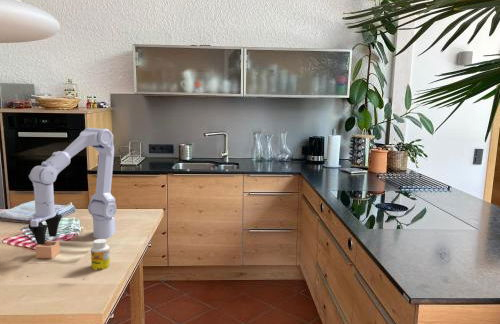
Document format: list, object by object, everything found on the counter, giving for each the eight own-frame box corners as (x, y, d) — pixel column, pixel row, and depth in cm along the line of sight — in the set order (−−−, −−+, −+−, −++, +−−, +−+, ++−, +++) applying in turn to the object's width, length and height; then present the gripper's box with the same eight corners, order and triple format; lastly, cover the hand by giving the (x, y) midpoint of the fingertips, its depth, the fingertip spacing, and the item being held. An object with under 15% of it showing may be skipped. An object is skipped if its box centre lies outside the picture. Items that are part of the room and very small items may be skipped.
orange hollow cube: (44, 251, 136) (43, 239, 135) (59, 252, 136) (59, 239, 135) (35, 257, 131) (35, 244, 130) (51, 258, 131) (51, 245, 130)
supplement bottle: (88, 271, 126) (86, 241, 124) (102, 265, 130) (101, 236, 129) (99, 276, 123) (98, 245, 121) (113, 269, 128) (112, 239, 126)
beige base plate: (57, 244, 148) (56, 240, 147) (99, 245, 147) (98, 242, 147) (26, 267, 128) (26, 262, 128) (74, 268, 128) (74, 264, 127)
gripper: (44, 195, 138) (46, 232, 140) (19, 207, 123) (22, 247, 125) (64, 196, 137) (66, 232, 140) (41, 207, 123) (44, 248, 125)
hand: (47, 240), depth 133 cm, fingers open, 7 cm apart
